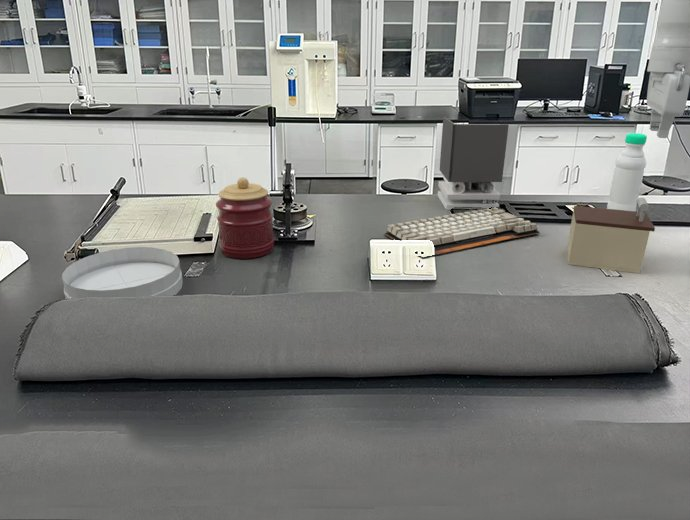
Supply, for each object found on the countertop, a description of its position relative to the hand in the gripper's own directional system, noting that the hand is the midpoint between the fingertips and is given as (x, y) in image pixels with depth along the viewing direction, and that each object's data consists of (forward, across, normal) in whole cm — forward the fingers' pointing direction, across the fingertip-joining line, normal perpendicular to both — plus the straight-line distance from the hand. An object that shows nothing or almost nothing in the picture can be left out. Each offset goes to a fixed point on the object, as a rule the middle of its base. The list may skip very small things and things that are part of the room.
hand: (657, 134), depth 110 cm
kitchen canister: (+29, -23, +86) cm, 94 cm away
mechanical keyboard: (+29, +6, +39) cm, 49 cm away
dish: (+29, -51, +98) cm, 114 cm away
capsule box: (+29, 0, +6) cm, 30 cm away
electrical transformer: (+29, +37, +42) cm, 63 cm away
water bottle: (+29, +27, 0) cm, 40 cm away
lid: (+19, 0, +5) cm, 20 cm away
